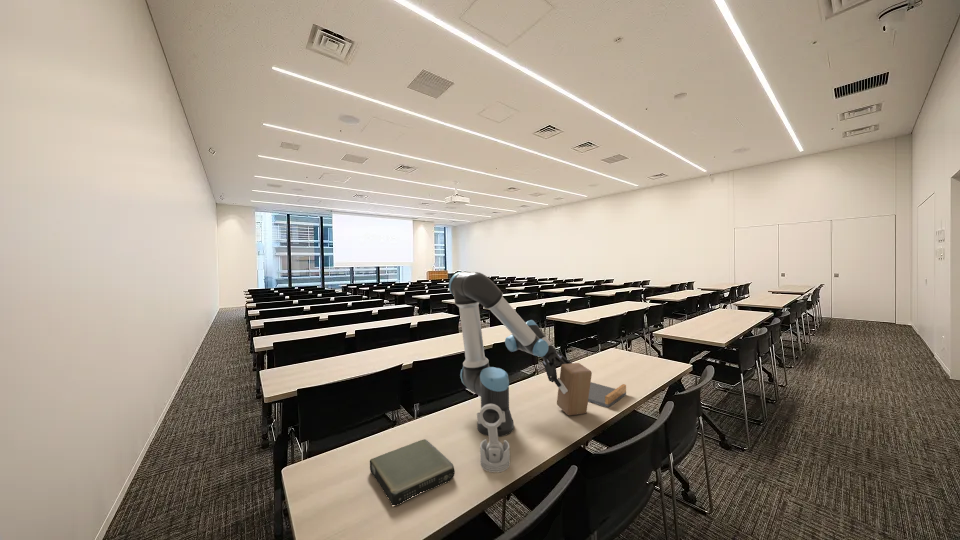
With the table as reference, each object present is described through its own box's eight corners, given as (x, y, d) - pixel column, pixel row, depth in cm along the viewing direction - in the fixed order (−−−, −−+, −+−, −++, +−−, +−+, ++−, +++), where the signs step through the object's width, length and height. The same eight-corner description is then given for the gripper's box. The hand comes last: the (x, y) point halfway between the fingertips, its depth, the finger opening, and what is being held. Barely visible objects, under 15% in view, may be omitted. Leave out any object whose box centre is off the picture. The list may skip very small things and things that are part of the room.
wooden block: (555, 404, 155) (560, 363, 152) (573, 402, 158) (578, 361, 155) (568, 416, 145) (573, 373, 143) (587, 414, 149) (593, 371, 146)
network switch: (422, 447, 126) (421, 434, 126) (462, 476, 109) (462, 461, 109) (362, 476, 110) (361, 461, 110) (398, 515, 93) (398, 498, 93)
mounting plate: (569, 395, 168) (569, 385, 168) (588, 384, 182) (588, 375, 182) (608, 407, 154) (608, 397, 154) (626, 394, 168) (626, 384, 168)
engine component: (509, 473, 110) (509, 455, 120) (508, 411, 109) (508, 398, 119) (476, 472, 111) (479, 454, 121) (475, 411, 110) (478, 398, 120)
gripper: (555, 347, 172) (582, 384, 162) (525, 359, 154) (553, 400, 144) (564, 339, 168) (592, 375, 158) (534, 350, 150) (564, 392, 140)
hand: (574, 388), depth 151 cm, fingers open, 13 cm apart
